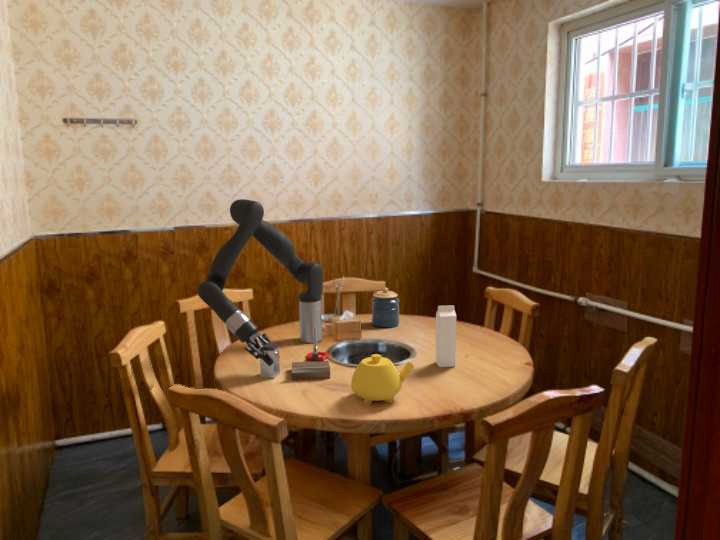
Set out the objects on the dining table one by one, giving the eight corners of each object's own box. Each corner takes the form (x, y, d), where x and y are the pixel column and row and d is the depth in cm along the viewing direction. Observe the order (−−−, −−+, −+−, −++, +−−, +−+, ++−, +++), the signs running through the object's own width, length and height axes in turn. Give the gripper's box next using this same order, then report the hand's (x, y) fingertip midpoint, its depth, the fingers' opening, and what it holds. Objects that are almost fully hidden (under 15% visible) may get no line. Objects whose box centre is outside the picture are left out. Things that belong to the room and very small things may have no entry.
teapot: (408, 385, 180) (408, 345, 177) (421, 404, 165) (421, 361, 162) (348, 389, 177) (347, 349, 175) (355, 409, 162) (354, 365, 159)
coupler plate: (292, 369, 197) (292, 358, 196) (328, 367, 198) (328, 356, 197) (292, 380, 186) (291, 368, 185) (330, 378, 187) (330, 367, 186)
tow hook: (310, 354, 215) (304, 360, 206) (309, 321, 214) (303, 327, 204) (330, 355, 214) (325, 361, 205) (330, 322, 212) (325, 327, 203)
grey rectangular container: (260, 377, 189) (259, 346, 187) (266, 372, 193) (265, 342, 192) (275, 378, 187) (274, 347, 185) (280, 373, 192) (279, 343, 190)
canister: (386, 319, 265) (386, 283, 262) (405, 324, 255) (405, 287, 252) (365, 324, 256) (365, 287, 253) (384, 330, 246) (384, 291, 244)
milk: (435, 362, 203) (435, 304, 199) (451, 361, 203) (452, 303, 200) (439, 367, 197) (439, 307, 193) (455, 366, 197) (456, 307, 194)
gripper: (238, 324, 182) (273, 361, 181) (256, 314, 196) (289, 348, 195) (225, 338, 184) (259, 375, 183) (243, 327, 198) (276, 361, 197)
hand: (274, 361), depth 189 cm, fingers closed on grey rectangular container, 5 cm apart
